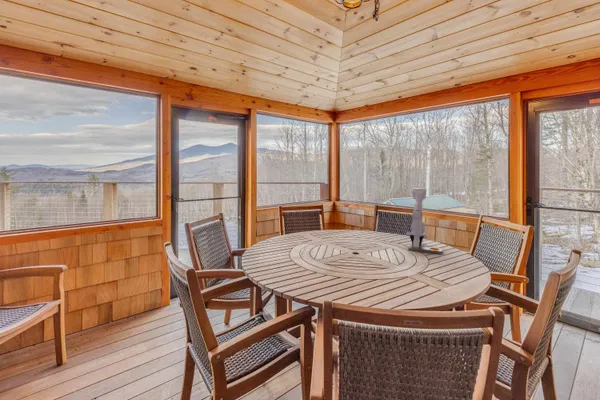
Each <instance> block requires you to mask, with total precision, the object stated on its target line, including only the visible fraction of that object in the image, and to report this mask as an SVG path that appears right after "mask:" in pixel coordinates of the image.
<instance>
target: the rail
mask: <svg viewBox="0 0 600 400" xmlns="http://www.w3.org/2000/svg"><path fill="white" fill-rule="evenodd" d="M443 249H444V248H439V247H434V246H433V247H432V246H431V247H429V246H423V245H422V246H420V248H413V246H412V245H411V244H410V245H409V246H408V248H407V250H408V251H411V252H419V253H420V252H421V253H427V254H435V255H436V254H437V255H442V254H443V252H444V250H443Z"/></svg>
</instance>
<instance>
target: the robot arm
mask: <svg viewBox="0 0 600 400" xmlns="http://www.w3.org/2000/svg"><path fill="white" fill-rule="evenodd" d="M426 197H427V188H425V187H424V188H423V187H418V188H417V187H412V199H413V200H415V203H414V205H413V211H412V222H411V226H410V232H408V231H406V233H405V235H406V236H409V239H410V241H411V244H410V245H412V246H413V240H414V239H417V240H420V243H419V247H420V246H423V245H424V244H425V243H424V241H423V240H424V238H428V236H429V234H428V233H425V232H426V225H425V222H424V221H422V220H423V215H424V214H423V201H424V200H425V199H426Z"/></svg>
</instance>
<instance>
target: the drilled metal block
mask: <svg viewBox="0 0 600 400" xmlns="http://www.w3.org/2000/svg"><path fill="white" fill-rule="evenodd" d="M419 243H420V240H417V239H414V240H413V248H420V247H419Z"/></svg>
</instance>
